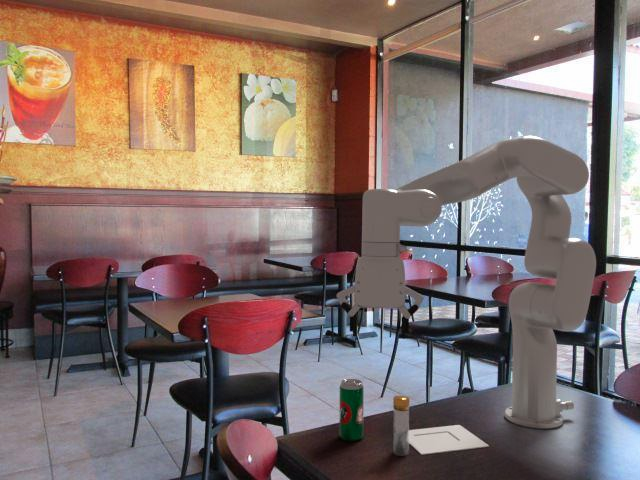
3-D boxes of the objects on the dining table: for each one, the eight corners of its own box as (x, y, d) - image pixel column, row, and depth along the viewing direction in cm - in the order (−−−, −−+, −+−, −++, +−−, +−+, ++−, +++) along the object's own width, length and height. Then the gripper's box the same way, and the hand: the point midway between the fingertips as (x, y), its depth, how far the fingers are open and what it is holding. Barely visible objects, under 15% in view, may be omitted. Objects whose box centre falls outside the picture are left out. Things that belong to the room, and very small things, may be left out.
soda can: (361, 443, 116) (361, 385, 115) (337, 441, 117) (337, 384, 116) (364, 433, 121) (364, 378, 120) (341, 432, 122) (341, 377, 121)
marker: (405, 448, 113) (405, 395, 112) (411, 455, 110) (411, 399, 109) (390, 450, 112) (391, 396, 112) (396, 456, 109) (397, 401, 109)
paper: (459, 425, 125) (459, 424, 125) (489, 446, 114) (489, 445, 114) (397, 432, 122) (397, 431, 122) (421, 454, 110) (421, 453, 110)
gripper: (423, 251, 114) (421, 334, 115) (339, 249, 117) (337, 331, 117) (425, 253, 107) (423, 342, 107) (335, 251, 109) (334, 338, 110)
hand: (378, 336), depth 112 cm, fingers open, 9 cm apart
